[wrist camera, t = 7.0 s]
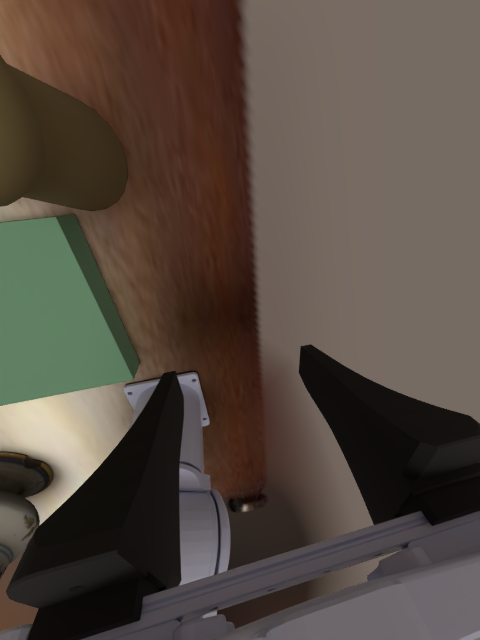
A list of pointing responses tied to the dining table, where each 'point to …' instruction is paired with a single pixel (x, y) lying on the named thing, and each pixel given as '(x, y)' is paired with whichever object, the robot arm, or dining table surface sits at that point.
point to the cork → (55, 147)
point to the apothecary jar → (19, 503)
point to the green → (56, 314)
